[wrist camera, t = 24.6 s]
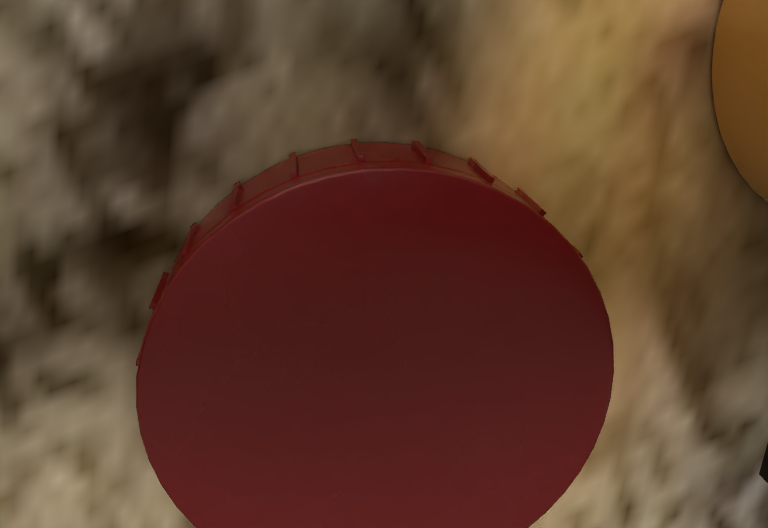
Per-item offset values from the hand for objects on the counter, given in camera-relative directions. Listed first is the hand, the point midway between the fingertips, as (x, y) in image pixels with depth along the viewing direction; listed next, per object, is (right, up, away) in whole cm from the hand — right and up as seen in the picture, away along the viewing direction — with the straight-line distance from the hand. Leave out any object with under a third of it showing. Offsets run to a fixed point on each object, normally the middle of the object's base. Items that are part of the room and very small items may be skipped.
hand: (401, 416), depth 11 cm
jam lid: (0, 0, +1) cm, 1 cm away
